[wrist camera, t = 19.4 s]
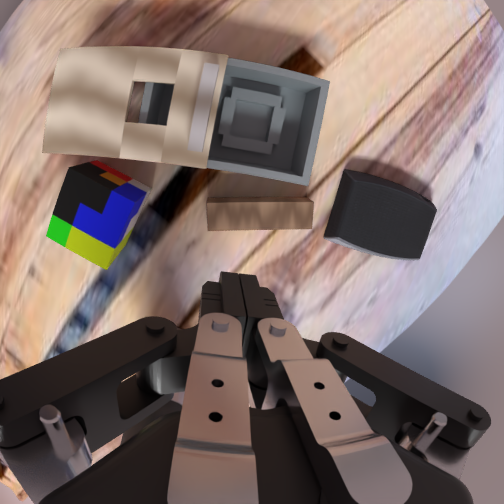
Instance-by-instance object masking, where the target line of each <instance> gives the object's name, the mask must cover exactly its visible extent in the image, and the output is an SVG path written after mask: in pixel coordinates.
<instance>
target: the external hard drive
mask: <svg viewBox="0 0 504 504" xmlns="http://www.w3.org/2000/svg"><path fill="white" fill-rule="evenodd" d="M436 212H437V209H436V207H435V205H434V204H433V203H432V202H431V201H430V200H428V199H427V198H425V197H423V196H422V195H420V194H418V193H416V192H414V191H412V190H410V189H408V188H406V187H404V186H401V185H399V184H397V183H394V182H391V181H389V180H386V179H383V178H380V177H376V176H373V175H370V174H365V173H361V172H357V171H351V170H344V171H343V175H342V178H341V181H340V185H339V188H338V192H337V195H336V199H335V202H334V205H333V209H332V212H331V215H330V218H329V222H328V225H327V228H326V231H325V234H324V239H326V240H329V241H331V242H334V243H337V244H339V245H342V246H345V247H348V248H351V249H354V250H357V251H361V252H364V253H368V254H372V255H375V256H380V257H385V258H391V259H398V260H419V259H420V257H421V254H422V252H423V249H424V246H425V243H426V241H427V238H428V235H429V232H430V229H431V226H432V223H433V220H434V217H435V214H436Z"/></svg>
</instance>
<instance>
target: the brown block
mask: <svg viewBox="0 0 504 504" xmlns="http://www.w3.org/2000/svg"><path fill="white" fill-rule="evenodd" d="M313 205H314V202H313V201H311V200H310V199H308V198H307V197H225V198H208V200H207V223H208V231H227V230H277V229H312V221H313Z"/></svg>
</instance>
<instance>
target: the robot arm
mask: <svg viewBox="0 0 504 504" xmlns="http://www.w3.org/2000/svg"><path fill="white" fill-rule="evenodd" d="M135 373H136V374H135ZM133 374H135V375H133ZM131 375H133V376H132V377H130V378H128V377H129V376H131ZM347 376H348V377H349V378H351V379H353V380H355V381H356V382H358V383H360V384H362V385H363V386H365V387H367V388H368V389H370V390H371V391H373V392H374V394H375V396H376V402H375V404H374V406H373V407H371V406H368V405H366V404H365V403H363V402H361V401H360V400H358V399H357V398H355V397H353V396H352V395H350V394H349V392H348V390H347V389H346V387H345V385H344V382H345V380H346V378H347ZM126 378H128V379H126ZM124 379H126V380H125V381H123V380H124ZM122 381H123V382H122ZM249 405H250V407H249ZM490 425H491V418H490V416H489V414H488V412H487V411H486V410H485V409H484V408H483V407H481V406H480V405H478V404H476V403H474V402H473V401H471V400H469V399H466V398H464V397H463V396H460V395H459V394H457V393H455V392H453V391H451V390H449V389H447V388H445V387H443V386H441V385H439V384H437V383H435V382H433V381H431V380H430V379H428V378H426V377H424V376H422V375H420V374H418V373H416V372H414V371H412V370H410V369H409V368H407V367H405V366H403V365H401V364H399V363H397V362H395V361H393V360H392V359H390V358H388V357H386V356H384V355H382V354H380V353H379V352H377V351H375V350H373V349H371V348H369V347H367V346H366V345H364V344H362V343H360V342H358V341H356V340H355V339H353V338H351V337H349V336H347V335H345V334H342V333H337V332H328V333H325V334H323V335H322V337H321V339H320V342H316V341H312V340H308V339H304V338H302V337H301V335H300V334H299V332H298V330H297V328H296V327H295V326H294V325H293V324H291V323H290V322H288V321H286V320H284V318H283V316H282V313H281V311H280V308H279V307H278V303H277V301H276V298H275V295H274V293H272V292H271V291H270V290H269V289H268V288H266V287H260V286H259V283H258V280H257V277H256V275H248V274H238V273H230V272H222V271H221V273H220V278H219V282H211V281H207V282H206V283H205V284H204V285H203V286H202V293H201V301H200V310H199V320H198V324H197V325H196V326H194V327H192V328H189V329H181V328H178V327H176V325H175V324H174V323H173V322H171V321H170V320H168V319H165V318H162V317H145V318H142V319H139V320H137V321H135V322H133V323H130V324H128V325H126V326H124V327H121V328H119V329H117V330H115V331H112V332H110V333H108V334H105V335H103V336H101V337H99V338H96V339H94V340H92V341H89V342H87V343H85V344H83V345H80V346H78V347H76V348H73V349H71V350H69V351H66V352H64V353H62V354H60V355H57V356H55V357H53V358H50V359H48V360H46V361H43V362H41V363H39V364H36V365H34V366H31V367H29V368H27V369H24V370H22V371H20V372H17V373H15V374H13V375H10V376H8V377H5V378H3V379H1V380H0V458H1V459H2V461H3V462H4V463H5V464H6V465H7V466H8V467H9V468H10V470H11V471H12V472H13V474H14V475H15V477H16V478H17V480H18V481H19V483H20V484H21V486H22V487H23V489H24V490H25V492H26V493H27V494H28V496H29V497H30V499H31V500H32V501H33V503H34V504H473V499H472V496H471V494H470V492H469V490H468V489H467V487H466V486H465V485H464V484H463V483H462V482H461V481H460V477H461V474H462V471H463V468H464V466H465V462H466V459H467V456H468V453H469V450H470V449H471V448H472V447H473V446H474V445H475V444H476V442H477V441H478V440H479V439H480V438H481V437H482V435H483V434H484V433H485V432H486V430H487V429H488V428H489V427H490ZM122 433H123V436H122V441H121V444H120V446H119V447H117V448H116V449H115V450H113V451H112V452H110V453H109V454H107V455H106V456H105V457H103V458H102V459H100V460H99V461H98V462H96V463H95V464H93V465H92V466H91V464H92V454H91V453H93V452H94V451H96V450H97V449H99V448H101V447H102V446H104V445H105V444H107V443H108V442H110V441H111V440H113V439H115V438H116V437H118V436H119V435H121V434H122Z"/></svg>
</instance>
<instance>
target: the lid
mask: <svg viewBox="0 0 504 504" xmlns="http://www.w3.org/2000/svg"><path fill="white" fill-rule="evenodd" d="M228 56H229V55H225V54H219V53H212V52H204V51H196V50H186V49H175V48H162V47H141V46H97V47H77V48H64V49H60V52H59V56H58V60H57V64H56V68H55V72H54V77H53V82H52V87H51V92H50V98H49V103H48V109H47V116H46V123H45V131H44V140H43V150H42V153H56V154H73V155H87V156H100V157H111V158H122V159H132V160H141V161H150V162H159V163H167V164H175V165H182V166H189V167H196V168H203V169H206V167H207V161H208V156H209V150H210V145H211V139H212V134H213V128H214V123H215V118H216V113H217V108H218V103H219V98H220V93H221V88H222V84H223V79H224V74H225V70H226V65H227V61H228ZM135 81H137V82H153V83H165V84H175V85H174V90H173V95H172V100H171V105H170V110H169V115H168V121H167V126H163V125H154V124H143V123H131V122H127V119H128V113H129V107H130V102H131V97H132V92H133V87H134V82H135Z"/></svg>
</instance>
